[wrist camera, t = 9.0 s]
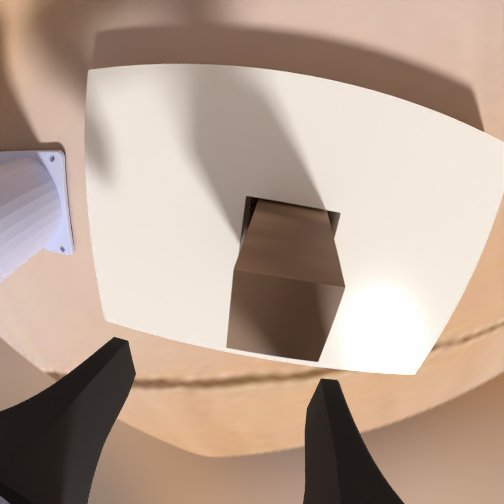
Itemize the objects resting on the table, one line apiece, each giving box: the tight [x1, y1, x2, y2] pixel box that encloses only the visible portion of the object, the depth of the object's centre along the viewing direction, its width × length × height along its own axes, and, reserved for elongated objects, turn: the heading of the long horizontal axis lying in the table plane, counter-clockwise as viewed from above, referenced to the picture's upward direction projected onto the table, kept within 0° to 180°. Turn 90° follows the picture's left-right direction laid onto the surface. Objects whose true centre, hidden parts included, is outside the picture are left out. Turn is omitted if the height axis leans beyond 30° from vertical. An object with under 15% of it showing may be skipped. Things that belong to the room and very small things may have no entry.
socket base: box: [85, 64, 504, 375], centre depth 16 cm, size 22×16×3 cm
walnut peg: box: [226, 198, 345, 362], centre depth 13 cm, size 3×3×9 cm
